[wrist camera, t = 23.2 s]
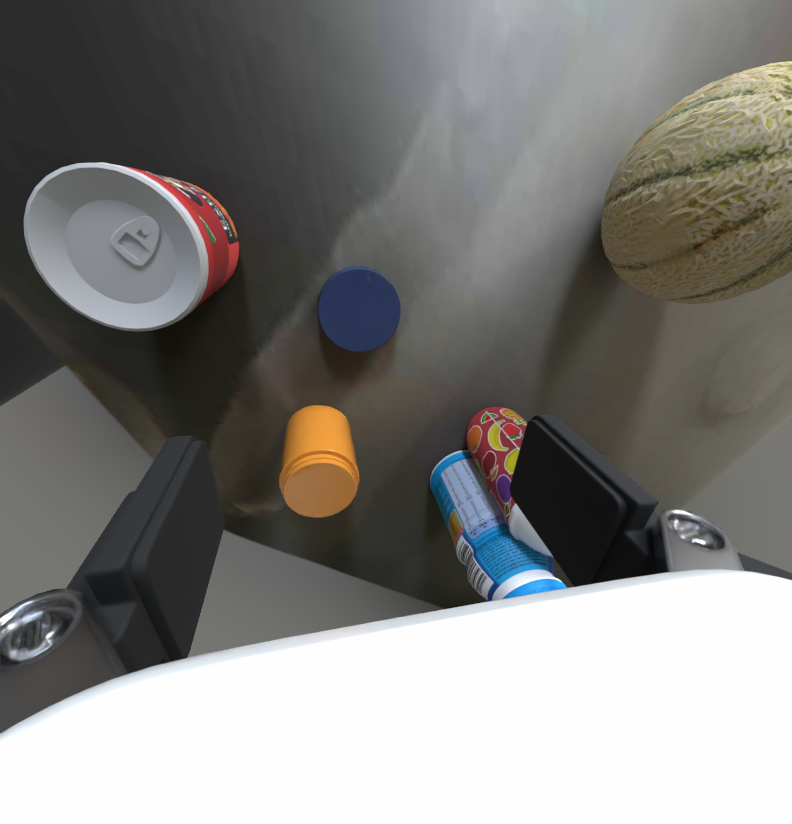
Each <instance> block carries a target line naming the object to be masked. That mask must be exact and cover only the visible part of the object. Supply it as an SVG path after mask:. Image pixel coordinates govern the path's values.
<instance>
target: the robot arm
mask: <svg viewBox="0 0 792 824" xmlns="http://www.w3.org/2000/svg"><path fill="white" fill-rule="evenodd" d="M510 495H511V497H512V499H513V500H514V502H515V503H516V504H517V506H518V507H519V509H520V510H521V512H522V513H523V514H524V516H525V517H526V519H527V520H528V521H529V523H530V524H531V526H532V527H533V529H534V530H535V531H536V533H537V534H538V536H539V537H540V539H541V540H542V541H543V543H544V544H545V546H546V547H547V548H548V550H549V551H550V553H551V554H552V556H553V557H554V558H555V560H556V561H557V563H558V564H559V566H560V567H561V568H562V570H563V571H564V573H565V574H566V575H567V577H568V578H569V580H570V581H571V583H572V584H573V585H574V586H575V587H571V588H565V589H559V590H553V591H547V592H541V593H536V594H530V595H524V596H518V597H512V598H507V599H501V600H495V601H489V602H484V603H478V604H472V605H466V606H461V607H455V608H449V609H444V610H438V611H433V612H426V613H421V614H415V615H410V616H404V617H398V618H393V619H387V620H382V621H376V622H371V623H365V624H359V625H354V626H349V627H343V628H337V629H332V630H326V631H322V632H315V633H310V634H304V635H298V636H293V637H287V638H282V639H277V640H272V641H267V642H262V643H257V644H252V645H247V646H242V647H237V648H232V649H226V650H222V651H216V652H211V653H206V654H202V655H197V656H193V657H189V658H187V656H188V654H189V652H190V649H191V645H192V641H193V638H194V634H195V630H196V627H197V623H198V619H199V616H200V612H201V609H202V605H203V602H204V598H205V594H206V590H207V587H208V583H209V580H210V576H211V572H212V569H213V565H214V562H215V558H216V555H217V551H218V547H219V543H220V540H221V536H222V533H223V529H224V515H223V511H222V506H221V502H220V498H219V494H218V490H217V486H216V482H215V478H214V474H213V469H212V465H211V461H210V457H209V453H208V449H207V445H206V442H205V441H204V440H203V441H198V438H197V437H196V436H178V437H170V438H169V439H168V440H167V441H166V443H165V445H164V446H163V448H162V449H161V451H160V452H159V454H158V456H157V457H156V459H155V460H154V462H153V463H152V465H151V467H150V468H149V470H148V471H147V473H146V475H145V476H144V478H143V479H142V481H141V483H140V484H139V486H138V487H137V489H136V490H135V491H133V492H131V493H129V494H128V495H127V496H126V498H125V499H124V501H123V502H122V503H121V505H120V507H119V508H118V510H117V511H116V513H115V514H114V516H113V517H112V519H111V521H110V522H109V524H108V525H107V527H106V528H105V530H104V531H103V533H102V534H101V536H100V537H99V539H98V540H97V542H96V543H95V545H94V546H93V548H92V550H91V551H90V553H89V554H88V556H87V557H86V559H85V560H84V562H83V563H82V565H81V566H80V568H79V570H78V571H77V573H76V574H75V576H74V577H73V579H72V580H71V582H70V583H69V585H68V587H67V588H66V589H54V590H50V591H46V592H43V593H39V594H36V595H34V596H32V597H30V598H28V599H25V600H23V601H21V602H19V603H17V604H16V605H14V606H13V607H11V608H9V609H8V610H6V611H4V612H3V613H2V614H0V824H792V573H790V572H787V571H784V570H782V569H779V568H776V567H774V566H771V565H769V564H766V563H763V562H761V561H758V560H755V559H753V558H750V557H748V556H745V555H742V554H740V553H737V551H736V549H735V546H734V544H733V542H732V540H731V539H730V537H729V536H728V535H727V534H726V533H725V532H724V531H723V530H722V529H721V528H720V527H718V526H717V525H715V524H714V523H713V522H711V521H709V520H708V519H706V518H704V517H702V516H700V515H697V514H695V513H692V512H689V511H685V510H681V509H667V510H664V511H663V512H662V513H661V514H660V516H658V515H657V514H656V513H655V512H653V511H654V510H655V508H656V506H657V504H658V501H657V500H656V499H655V498H653V497H652V496H651V495H650V494H649V493H647V492H646V491H645V490H644V489H643V488H641V487H640V486H639V485H638V484H637V483H635V482H634V481H633V480H632V479H631V478H629V477H628V476H627V475H626V474H625V473H623V472H622V471H621V470H620V469H619V468H617V467H616V466H615V465H614V464H613V463H611V462H610V461H609V460H608V459H607V458H605V457H604V456H603V455H602V454H601V453H599V452H598V451H597V450H596V449H595V448H593V447H592V446H591V445H590V444H589V443H587V442H586V441H585V440H584V439H583V438H581V437H580V436H579V435H578V434H577V433H575V432H574V431H573V430H572V429H571V428H569V427H568V426H567V425H566V424H565V423H563V422H562V421H561V420H560V419H559V418H557V417H556V416H554V415H538V416H534V417H533V418H532V419H531V420H530V421H529V422H528V423H527V425H526V429H525V432H524V436H523V439H522V443H521V447H520V450H519V454H518V458H517V461H516V465H515V469H514V472H513V476H512V480H511V483H510Z"/></svg>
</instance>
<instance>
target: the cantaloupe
mask: <svg viewBox="0 0 792 824" xmlns="http://www.w3.org/2000/svg"><path fill="white" fill-rule="evenodd" d="M601 238H602V243H603V248H604V252H605V254H606V257H607V258H608V259H609V261H610V263H611V265H612V267H613V269H614V271H615V272H616V273H617V275H618V276H619V277H621V278H622V279H623V281H624V282H625V283H627V284H628V285H630V286H632V287H634V288H635V289H637V290H639V291H640V292H642V293H644V294H646V295H648V296H650V297H655V298H660V299H662V300H665V301H672V302H679V303H687V304H697V303H709V302H715V301H720V300H725V299H729V298H733V297H737V296H739V295H742V294H744V293H747V292H750V291H753V290H756V289H759V288H761V287H763V286H765V285H767V284H769V283H771V282H772V281H774V280H776V279H778V278H780V277H782V276H784V275H786V274H788V273H789V272H791V271H792V62H779V63H772V64H767V65H764V66H760V67H757V68H753V69H749V70H745V71H743V72H740V73H735V74H732V75H729V76H727V77H725V78H723V79H720V80H717V81H714V82H712V83H710V84H708V85H706V86H704V87H702V88H700V89H698V90H697V91H695V92H693V93H691V94H690V95H688V96H687V97H685V98H683V99H682V100H681V101H680V102H679V103H677V104H676V105H675V106H674V107H672V108H670V109H669V110H667V111H666V112H665V113H664V114H662V115H661V116H660V117H659V118H658V119H657V120H656V121H655V122H654V123H653V124H652V125H651V126H650V127H649V128H648V129H647V130H646V131H645V132H644V133H643V134H642V136H641V137H640V138H639V139H638V140H637V141H636V142H635V144H634V146H633V147H632V148H631V150H630V151H629V152H628V154H627V155H626V156H625V158H624V159H623V160H622V162H621V163H620V165H619V167H618V169H617V171H616V173H615V175H614V177H613V179H612V181H611V184H610V186H609V189H608V191H607V194H606V199H605V206H604V210H603V213H602V220H601Z"/></svg>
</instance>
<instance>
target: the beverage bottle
mask: <svg viewBox="0 0 792 824" xmlns="http://www.w3.org/2000/svg"><path fill="white" fill-rule="evenodd" d="M430 487H431V490H432V493H433V495H434V497H435V499H436V501H437V503H438V506H439V508H440V511H441V513H442V515H443V518H444V520H445V523H446V525H447V528H448V530H449V533H450V535H451V538H452V540H453V543H454V547H455V552H456V555H457V557H458V559H459V561H460V563H461V564H462V566H463V567H464V568H466V569H467V578H468V581H469V583H470V584H471V586H472V587H473V589H474V590H475V591H476V592H477V593H478V594H479V595H480V596H481V597H482V598H483V599H484V600H485V601H487V602H489V601H495V600H501V599H507V598H512V597H518V596H524V595H530V594H536V593H541V592H547V591H553V590H559V589H565V588H567V587H566V586H565V584H563V583H562V582H561V581H560V580H559V579H557V578H555V577H554V562H553V557H550V556H546V555H543V554H541V553H539V552H537V551H535V550H533V549H532V548H530V547H529V546H527V545H526V544H524V543H523V542H522V541H520V540H517V539H515V538H514V537H513V536H512V534H511V533H510V530H509V527H508V525H507V523H506V521H505V519H504V517H503V515H502V513H501V511H500V510H499V508H498V506H497V504H496V502H495V500H494V498H493V496H492V494H491V492H490V490H489V488H488V486H487V484H486V482H485V480H484V478H483V476H482V474H481V472H480V471H479V469H478V467H477V465H476V463H475V461H474V459H473V457H472V455H471V453H470V451H469V450H461V451H457V452H454V453H452V454H450V455H448V456H446V457H445V458H443V459H442V460H441V461H440V462H439V463H438V464H437V465H436V466H435V468H434V469H433V471H432V474H431V477H430Z"/></svg>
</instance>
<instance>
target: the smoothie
mask: <svg viewBox="0 0 792 824" xmlns="http://www.w3.org/2000/svg"><path fill="white" fill-rule="evenodd" d="M526 425H527V422H526V421H525V420H524V419H523V418H522V417H521V416H519V415H518V414H517V413H516V412H514V411H513V410H512V409H508V408H501V407H497V406H496V407H488V408H486V409H483V410H481V411H480V412H478V413H477V414H475V416H474V417H473V418H472V419H471V420H470V422H469V424H468V426H467V431H466V444H467V447H468V449H469V451H470V453H471V455H472V457H473V459H474V461H475V463H476V465H477V467H478V469H479V471H480V472H481V474H482V476H483V478H484V480H485V482H486V484H487V486H488V488H489V490H490V492H491V494H492V496H493V498H494V500H495V502H496V504H497V506H498V508H499V510H500V511H501V513H502V515H503V517H504V519H505V521H506V523H507V525H508V527H509V530H510V533H511V534H512V536H513V537H514V538H515V539H517V540H520V541H522V542H523V543H524V544H526V545H527V546H529V547H530V548H532V549H533V550H535V551H537V552H539V553H541V554H543V555H546V556H550V557H553V556H552V554H551V553H550V551H549V550H548V548H547V547H546V546H545V544H544V543H543V541H542V540H541V539H540V537H539V536H538V534H537V533H536V531H535V530H534V529H533V527H532V526H531V524H530V523H529V521H528V520H527V519H526V517H525V516H524V514H523V513H522V512H521V510H520V509H519V507H518V506H517V504H516V503H515V502H514V500H513V499H512V497H511V495H510V483H511V480H512V476H513V472H514V469H515V465H516V461H517V458H518V454H519V450H520V447H521V443H522V439H523V436H524V432H525V429H526Z"/></svg>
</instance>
